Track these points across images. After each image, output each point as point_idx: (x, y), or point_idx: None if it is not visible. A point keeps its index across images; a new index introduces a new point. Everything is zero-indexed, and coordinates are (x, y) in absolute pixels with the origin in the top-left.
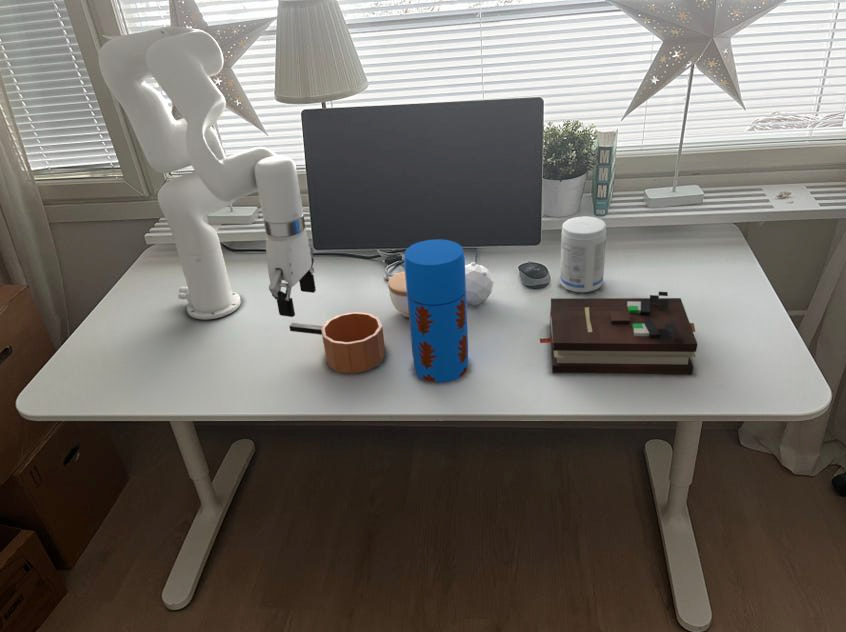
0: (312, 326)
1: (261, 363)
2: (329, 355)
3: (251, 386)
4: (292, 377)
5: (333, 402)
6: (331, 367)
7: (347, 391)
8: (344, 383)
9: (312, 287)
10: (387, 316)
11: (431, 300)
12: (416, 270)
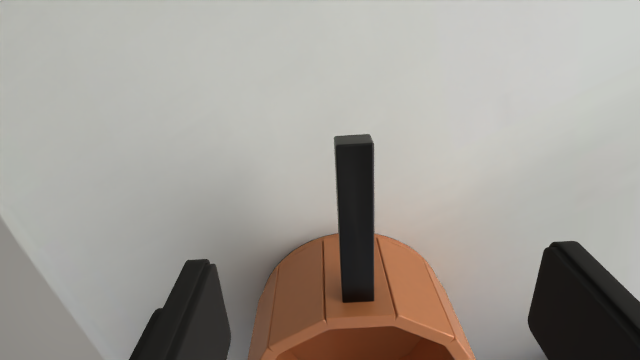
0: (359, 251)
1: (206, 16)
2: (265, 308)
3: (59, 68)
4: (178, 184)
5: (131, 337)
6: (271, 274)
7: None
8: None
9: (549, 354)
10: None
11: None
12: None
